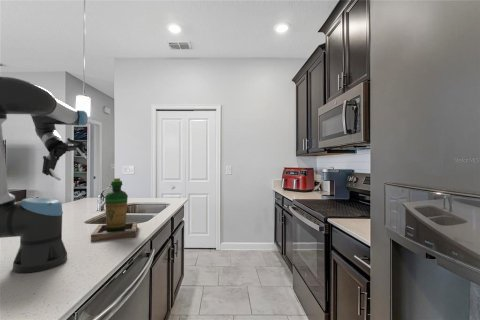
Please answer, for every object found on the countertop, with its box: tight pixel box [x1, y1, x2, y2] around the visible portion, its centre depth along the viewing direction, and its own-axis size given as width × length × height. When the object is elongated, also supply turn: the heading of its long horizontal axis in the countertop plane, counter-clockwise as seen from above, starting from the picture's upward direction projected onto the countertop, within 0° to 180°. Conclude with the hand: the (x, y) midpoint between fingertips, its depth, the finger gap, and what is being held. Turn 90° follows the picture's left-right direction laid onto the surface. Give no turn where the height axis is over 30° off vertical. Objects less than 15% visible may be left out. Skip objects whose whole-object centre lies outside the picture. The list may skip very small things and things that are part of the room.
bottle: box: [104, 177, 128, 232], centre depth 124 cm, size 11×11×28 cm
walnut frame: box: [90, 221, 138, 242], centre depth 124 cm, size 19×19×3 cm
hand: (71, 167), depth 105 cm, fingers open, 13 cm apart
